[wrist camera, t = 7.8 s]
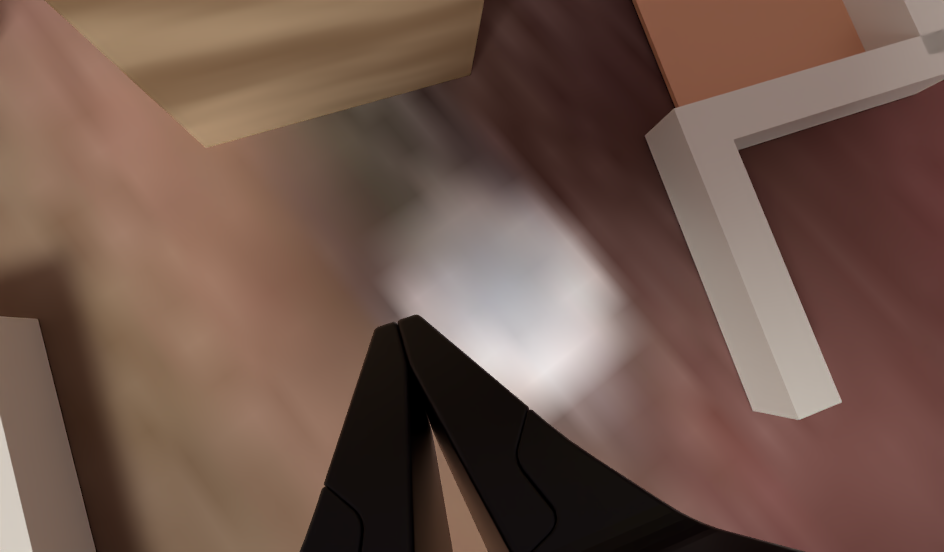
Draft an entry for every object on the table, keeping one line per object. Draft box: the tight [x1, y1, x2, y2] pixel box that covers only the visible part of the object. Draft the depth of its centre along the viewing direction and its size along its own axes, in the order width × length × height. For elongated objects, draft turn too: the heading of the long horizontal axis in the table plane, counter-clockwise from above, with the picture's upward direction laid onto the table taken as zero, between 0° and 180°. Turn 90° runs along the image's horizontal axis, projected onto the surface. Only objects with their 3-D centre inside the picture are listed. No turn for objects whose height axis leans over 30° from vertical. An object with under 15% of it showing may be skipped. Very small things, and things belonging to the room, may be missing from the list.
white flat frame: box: [0, 0, 944, 552], centre depth 15 cm, size 32×42×3 cm
